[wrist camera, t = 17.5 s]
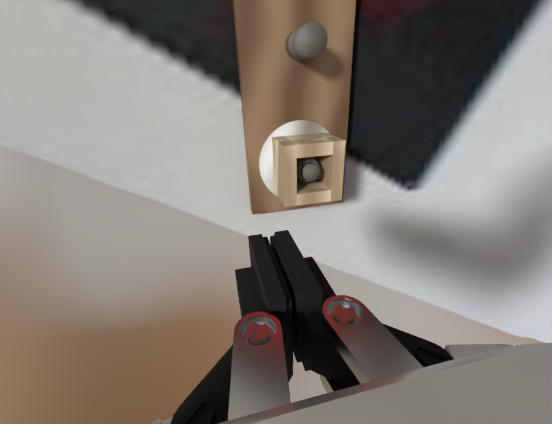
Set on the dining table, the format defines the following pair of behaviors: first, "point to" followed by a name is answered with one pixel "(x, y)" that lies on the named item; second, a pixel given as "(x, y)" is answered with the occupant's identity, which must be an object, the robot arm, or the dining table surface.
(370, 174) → the dining table surface
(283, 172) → the collar
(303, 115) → the hub board
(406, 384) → the robot arm
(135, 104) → the dining table surface
